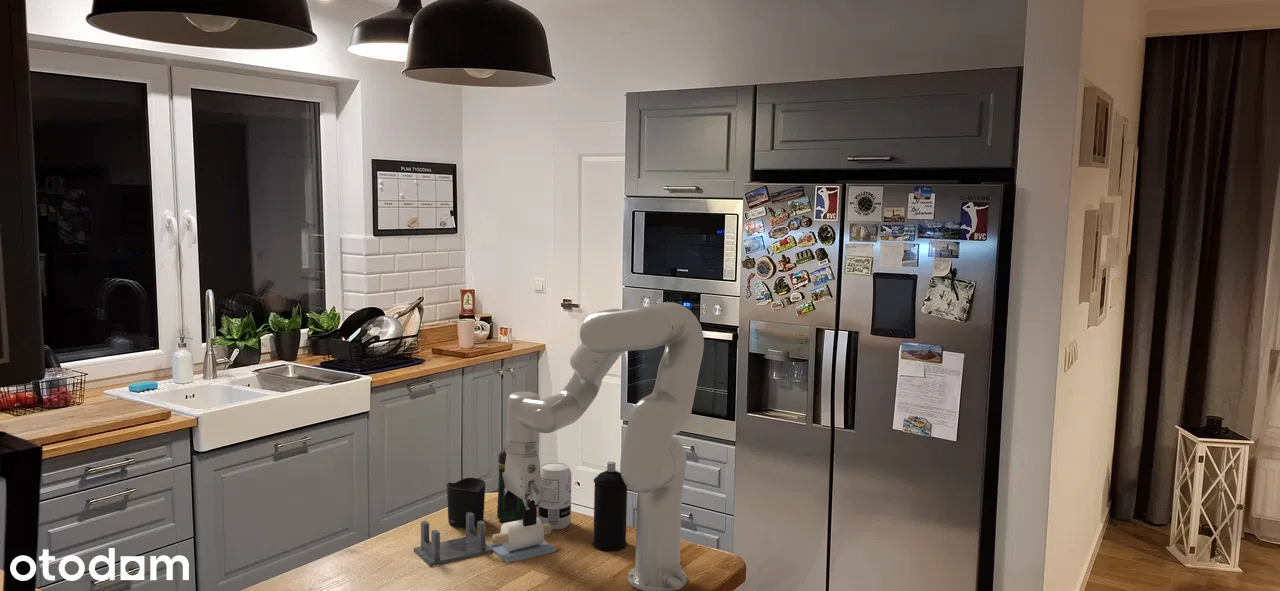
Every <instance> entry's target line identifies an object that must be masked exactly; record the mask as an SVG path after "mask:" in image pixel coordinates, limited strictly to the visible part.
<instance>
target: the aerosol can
mask: <svg viewBox="0 0 1280 591" xmlns="http://www.w3.org/2000/svg"><path fill="white" fill-rule="evenodd" d="M606 465H607V466H606V470H605V471H602V472H599V474H597V476H595V477H594V479H593V482H594V494H593V495H594V496H593V501H594V503H593V541H592V546H593V548H594V549H596V550H598V551H602V552H618V551H621V550H624V549H625V548H626V547H627V544H628V542H627V516H628V515H627V514H628V513H627V511H628V510H627V509H628V506H627V505H628V504H627V503H628V487H627V486H626V484H625V483H624V481H623V479H622V476H621V471H618V470H616V462H615V461H607V463H606Z"/></svg>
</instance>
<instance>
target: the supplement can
mask: <svg viewBox="0 0 1280 591" xmlns="http://www.w3.org/2000/svg"><path fill="white" fill-rule="evenodd" d="M540 474H541V492H540V493H541V498H540V503H539V505H538V508H537V517H538V518H539V519H540V520H541V522H542V524H546V523H549V524H550V525H551V531H555V530H554V529H557V530H556V531H559V530H564V529H566V528H567V527H568V526H569V525H570V524H571V522H572V521H571V519H572V510H571V509H572V471H571V469H570V466H569V464H566V463H563V462H548V463H544V464H541V465H540ZM558 529H559V530H558Z"/></svg>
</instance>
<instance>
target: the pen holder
mask: <svg viewBox="0 0 1280 591" xmlns="http://www.w3.org/2000/svg"><path fill="white" fill-rule="evenodd" d="M485 493H486V481H485V480H483V479H481V478H476V477H466V478H462V479H460V480H458V481H456V482H447V484H446V494H447V496H446V497H447V498H446V499H447V517H448V518H447V520H448V523H449V525H450V526H451V527H454V528H459V529H466V513H468V512H471V513H473V514H474V526H475V527H477V521H484V518H485V516H484V515H485V501H486V500H485V499H486V498H485V497H486V494H485Z"/></svg>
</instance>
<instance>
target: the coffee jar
mask: <svg viewBox="0 0 1280 591" xmlns="http://www.w3.org/2000/svg"><path fill="white" fill-rule="evenodd" d="M506 455H507V453H506V447H505V448H503V449H501V451H500V452H498V461H497V462H498V463H497V465H498V483H497V484H498V487H497V508H496V509H497V514H496V517H497V519H498V520H500V521H502V522H504V523H508V522H513V521H517V520H522V519H523V509H525V506H524V502H523V499H521V498H519V497H517V510H516V511H511V512H504V486H503V482H504V481H503V476H502V473H503V472H505V462H506ZM525 495H531V493H530V494H525ZM527 500H528V503H530V501H531V500H532V499H527Z"/></svg>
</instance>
